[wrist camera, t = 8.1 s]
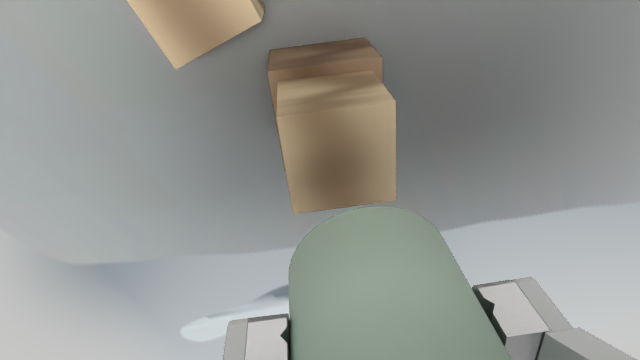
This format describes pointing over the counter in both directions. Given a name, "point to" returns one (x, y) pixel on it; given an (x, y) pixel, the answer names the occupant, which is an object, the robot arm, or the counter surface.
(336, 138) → the tower block top
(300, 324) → the sage green cylinder
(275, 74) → the tower block base
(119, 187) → the counter surface
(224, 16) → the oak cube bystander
